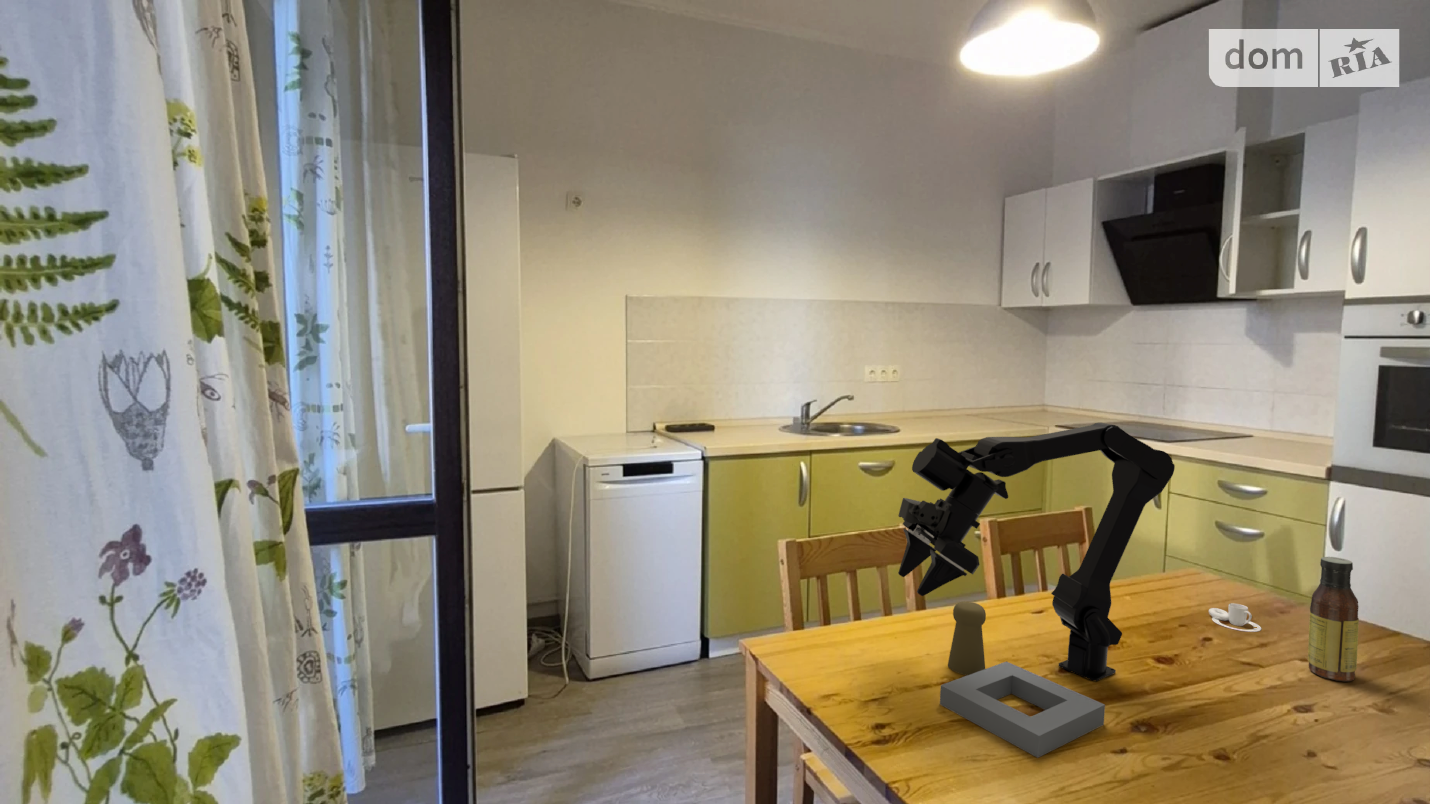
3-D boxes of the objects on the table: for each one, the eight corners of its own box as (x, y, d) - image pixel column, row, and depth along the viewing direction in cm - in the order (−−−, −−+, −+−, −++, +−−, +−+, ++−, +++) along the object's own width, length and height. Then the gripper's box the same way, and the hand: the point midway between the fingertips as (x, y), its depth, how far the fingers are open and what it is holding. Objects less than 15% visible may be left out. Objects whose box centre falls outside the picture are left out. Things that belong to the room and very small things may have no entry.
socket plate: (1005, 679, 115) (1006, 661, 115) (1103, 724, 101) (1105, 704, 101) (939, 704, 106) (940, 685, 106) (1037, 757, 93) (1039, 735, 93)
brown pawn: (988, 677, 115) (992, 612, 114) (950, 673, 116) (953, 608, 116) (982, 661, 121) (985, 599, 120) (945, 657, 122) (948, 596, 121)
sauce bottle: (1346, 671, 121) (1358, 557, 119) (1361, 686, 115) (1373, 568, 113) (1298, 663, 123) (1309, 552, 122) (1311, 678, 118) (1322, 561, 116)
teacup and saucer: (1201, 615, 146) (1203, 596, 146) (1243, 618, 145) (1245, 599, 145) (1225, 632, 138) (1227, 612, 137) (1270, 635, 136) (1272, 615, 136)
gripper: (904, 469, 123) (855, 542, 124) (946, 490, 105) (887, 577, 105) (955, 503, 124) (906, 576, 125) (1005, 530, 106) (946, 616, 106)
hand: (909, 584), depth 115 cm, fingers open, 9 cm apart
